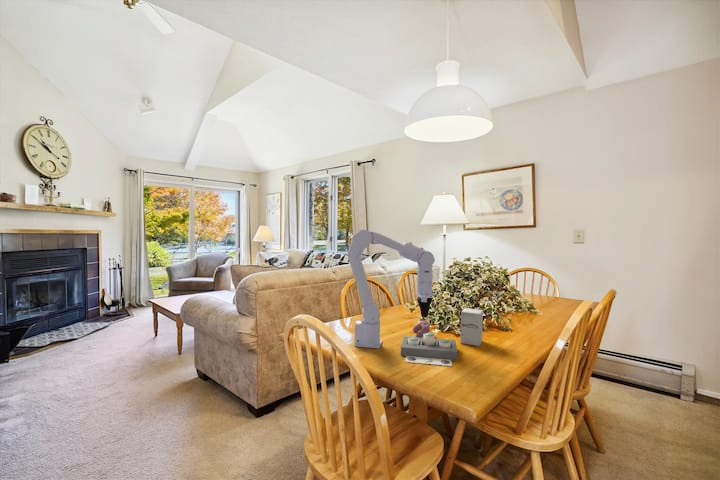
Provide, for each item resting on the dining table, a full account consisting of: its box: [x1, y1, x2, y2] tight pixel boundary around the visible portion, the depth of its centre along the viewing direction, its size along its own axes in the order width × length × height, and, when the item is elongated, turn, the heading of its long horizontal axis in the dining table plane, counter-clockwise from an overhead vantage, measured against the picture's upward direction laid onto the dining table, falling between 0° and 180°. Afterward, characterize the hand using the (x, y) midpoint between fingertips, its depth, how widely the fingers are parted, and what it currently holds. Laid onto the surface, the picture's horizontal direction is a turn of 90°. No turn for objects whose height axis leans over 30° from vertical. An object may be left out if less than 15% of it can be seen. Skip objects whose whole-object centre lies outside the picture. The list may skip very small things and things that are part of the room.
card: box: [404, 356, 453, 368], centre depth 110 cm, size 15×5×1 cm, turn 77°
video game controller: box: [412, 320, 431, 338], centre depth 138 cm, size 10×5×7 cm, turn 179°
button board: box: [400, 336, 458, 362], centre depth 119 cm, size 19×12×3 cm, turn 77°
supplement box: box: [459, 307, 484, 347], centre depth 129 cm, size 7×7×13 cm
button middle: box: [422, 332, 436, 346], centre depth 118 cm, size 4×4×4 cm
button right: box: [439, 338, 451, 348], centre depth 117 cm, size 4×4×4 cm
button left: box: [408, 336, 419, 345], centre depth 120 cm, size 4×4×4 cm
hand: (424, 316), depth 127 cm, fingers closed
